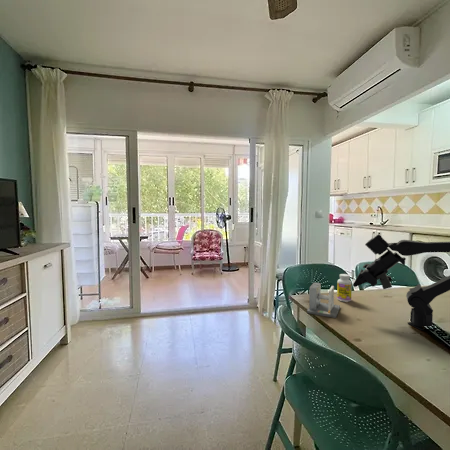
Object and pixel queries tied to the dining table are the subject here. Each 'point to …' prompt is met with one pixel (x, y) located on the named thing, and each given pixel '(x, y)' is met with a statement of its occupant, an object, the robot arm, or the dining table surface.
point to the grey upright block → (328, 298)
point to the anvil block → (314, 296)
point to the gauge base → (325, 310)
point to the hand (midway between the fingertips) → (353, 286)
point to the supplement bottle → (344, 288)
